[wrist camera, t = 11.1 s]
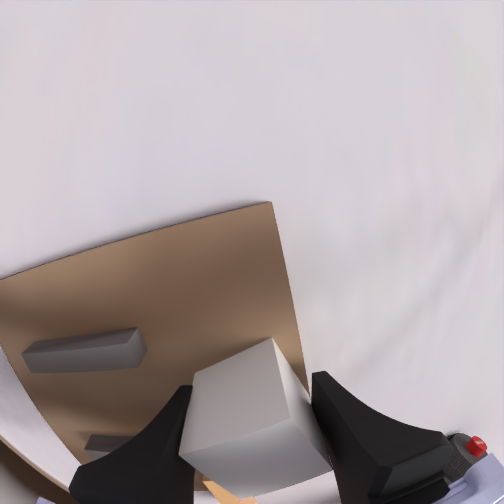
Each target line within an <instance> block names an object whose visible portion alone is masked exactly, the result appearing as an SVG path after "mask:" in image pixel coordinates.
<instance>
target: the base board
mask: <svg viewBox="0 0 504 504" xmlns="http://www.w3.org/2000/svg"><path fill="white" fill-rule="evenodd" d="M271 337H272V338H273V340H274V341H275V343H276V344H277V346H278V348H279V349H280V351H281V352H282V354H283V355H284V357H285V359H286V360H287V362H288V363H289V365H290V366H291V368H292V370H293V371H294V373H295V374H296V376H297V377H298V379H299V380H300V382H301V384H302V385H303V387H304V388H305V390H306V391H307V393H308V395H309V398H310V393H309V387H308V381H307V375H306V370H305V364H304V358H303V353H302V347H301V342H300V336H299V331H298V326H297V321H296V315H295V310H294V305H293V300H292V295H291V290H290V285H289V280H288V275H287V270H286V265H285V261H284V256H283V251H282V246H281V242H280V237H279V232H278V228H277V223H276V219H275V214H274V210H273V205H272V202H264V203H260V204H255V205H251V206H247V207H243V208H238V209H234V210H230V211H226V212H222V213H218V214H214V215H210V216H206V217H202V218H198V219H194V220H190V221H186V222H183V223H179V224H175V225H171V226H168V227H164V228H160V229H157V230H153V231H150V232H146V233H143V234H139V235H136V236H132V237H129V238H125V239H122V240H118V241H115V242H112V243H108V244H105V245H102V246H98V247H95V248H92V249H89V250H86V251H82V252H79V253H76V254H73V255H70V256H67V257H64V258H61V259H58V260H55V261H52V262H49V263H46V264H43V265H40V266H37V267H34V268H31V269H28V270H26V271H23V272H20V273H17V274H14V275H12V276H9V277H6V278H4V279H1V280H0V344H1V346H2V348H3V350H4V352H5V354H6V356H7V358H8V360H9V362H10V364H11V366H12V368H13V369H14V371H15V373H16V375H17V377H18V378H19V380H20V382H21V384H22V385H23V387H24V389H25V390H26V392H27V393H28V395H29V397H30V398H31V400H32V401H33V403H34V404H35V406H36V407H37V409H38V410H39V412H40V413H41V415H42V416H43V417H44V419H45V420H46V422H47V423H48V424H49V426H50V427H51V428H52V430H53V431H54V432H55V434H56V435H57V436H58V437H59V439H60V440H61V441H62V442H63V444H64V445H65V446H66V447H67V448H68V450H69V451H70V452H71V453H72V454H73V455H74V457H75V458H76V459H77V460H78V461H79V462H80V463H81V464H82V465H84V464H87V463H89V462H92V461H94V460H97V459H99V458H101V457H103V456H105V455H107V454H109V453H111V452H113V451H114V450H116V449H118V448H119V447H121V446H122V445H124V444H125V443H127V442H128V441H129V440H131V439H132V438H133V437H135V436H136V435H137V434H138V433H139V432H141V431H142V430H143V429H144V428H145V427H146V426H147V425H148V424H149V423H150V422H151V421H152V420H153V419H154V418H155V417H156V415H157V414H158V413H159V412H160V411H161V410H162V408H163V407H164V406H165V405H166V403H167V402H168V401H169V400H170V398H171V397H172V396H173V394H174V393H175V392H176V390H177V389H178V388H179V387H180V386H181V385H192V384H193V379H194V375H195V373H196V372H198V371H201V370H203V369H205V368H207V367H210V366H212V365H214V364H216V363H219V362H221V361H223V360H225V359H227V358H230V357H232V356H234V355H236V354H238V353H240V352H242V351H244V350H247V349H249V348H251V347H253V346H255V345H257V344H259V343H261V342H263V341H265V340H267V339H269V338H271ZM310 401H311V399H310ZM207 490H209V489H208V488H207V487H206V485H205V484H204V483H203V474H202V473H201V472H200V471H198V470H197V469H196V468H195V476H194V491H207Z"/></svg>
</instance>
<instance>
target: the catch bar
mask: <svg viewBox="0 0 504 504" xmlns="http://www.w3.org/2000/svg"><path fill="white" fill-rule="evenodd" d="M203 483H204V484H205V485H206V487H207V488H208V489H209V490H210V492H211V493H212V494H213V495H214V496H215V498H216V499H217V500H218V501H219V502H220V504H258V503H257V501H256V500H255V498H254V497H249V498H245V499H241V500H240V499H239V498H237V497H236V496H234V495H233V494H231V493H229V492H228V491H226V490H225V489H223V488H222V487H220V486H219V485H218V484H216V483H215V482H213V481H212V480H210V479H209V478H208V477H206V476H205V475H204V474H203Z"/></svg>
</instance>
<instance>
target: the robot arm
mask: <svg viewBox="0 0 504 504" xmlns="http://www.w3.org/2000/svg"><path fill="white" fill-rule="evenodd" d="M192 389H193V386H192V385H181V386H180V387H179V388H178V389H177V390H176V392H175V393H174V394H173V396H172V397H171V398H170V400H169V401H168V402H167V403H166V405H165V406H164V407H163V408H162V410H161V411H160V412H159V413H158V414H157V415H156V417H155V418H154V419H153V420H152V421H151V422H150V423H149V424H148V425H147V426H146V427H145V428H144V429H143V430H142V431H141V432H139V433H138V434H137V435H136V436H135V437H133V438H132V439H131V440H129V441H128V442H127V443H125V444H124V445H122V446H121V447H119V448H118V449H116V450H114V451H113V452H111V453H109V454H107V455H105V456H103V457H101V458H99V459H97V460H94V461H92V462H89V463H87V464H84V465H81V466H79V467H78V469H77V471H76V473H75V475H74V477H73V479H72V481H71V484H70V486H69V491H70V493H71V495H72V496H73V497H74V498H75V499H76V500H77V501H78V502H79V503H80V504H194V476H195V468H194V467H193V466H192V465H190V464H189V463H188V462H187V461H185V460H184V459H183V458H182V457H180V456H179V455H178V454H179V449H180V444H181V438H182V433H183V428H184V423H185V418H186V413H187V408H188V405H189V402H190V399H191V394H192ZM311 405H312V408H313V411H314V414H315V417H316V420H317V422H318V425H319V428H320V431H321V434H322V437H323V440H324V443H325V446H326V449H327V452H328V454H329V457H330V460H331V463H332V466H333V470H334V473H335V477H336V481H337V485H338V490H339V494H340V498H341V503H342V504H499V503H500V502H501V501H502V500H503V499H504V467H503V465H502V464H501V463H500V461H499V460H498V459H497V458H496V457H495V455H494V454H493V453H490V454H489V455H487V456H486V457H484V458H483V459H481V460H480V461H478V462H477V463H475V464H474V465H473V466H472V467H471V468H470V469H469V470H468V471H467V472H466V474H465V475H464V477H462V478H461V479H459V480H457V481H456V482H454V483H452V484H451V485H449V486H448V485H447V483H446V482H445V480H444V477H445V473H444V471H443V467H444V466H445V464H446V463H447V461H448V460H449V458H450V456H451V454H452V452H453V446H452V445H451V444H450V442H449V441H448V439H447V438H446V437H445V436H444V435H443V433H442V432H439V431H433V430H427V429H422V428H418V427H414V426H411V425H408V424H405V423H402V422H399V421H397V420H394V419H392V418H389V417H387V416H385V415H383V414H381V413H379V412H377V411H376V410H374V409H372V408H370V407H369V406H367V405H366V404H364V403H363V402H361V401H360V400H359V399H357V398H356V397H355V396H353V395H352V394H351V393H350V392H348V391H347V390H346V389H345V388H344V387H342V386H341V385H340V384H339V383H338V382H337V381H336V380H335V379H334V378H333V377H332V376H330V375H329V374H328V373H327V372H326V371H321V372H315V373H312V396H311ZM36 504H55V503H53V502H51V501H49V500H46V499H44V498H42V497H39V499H38V501H37V503H36Z"/></svg>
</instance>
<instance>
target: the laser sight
mask: <svg viewBox="0 0 504 504" xmlns="http://www.w3.org/2000/svg"><path fill="white" fill-rule="evenodd" d="M449 442H450V444H451V445H452V446H453V452H452V454H451V456H450V458H449V460H448V461H447V463H446V464H445V466H444V467H443V471H444V473H445V477H444V480H445V482H446V483H447V485H448V486H449V485H451V484H452V483H454V482H456V481H457V480H459V479H461V478H462V477H464V475H465V474H466V472H467V471H468V470H469V469H470V468H471V467H472V466H473V465H474V464H475V463H477V462H478V461H480V460H481V459H483V458H484V457H486V456H487V455H488V454H487V452H486V450H487V446H486V444H485V443H484V441H483V440H481V439H480V438H479V437H477V436H473V437H472V438H471V437H469V436H468V435H465V434H461V433H458V434H455V435H454V437H453V438H452V439H451V440H450V441H449Z"/></svg>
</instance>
